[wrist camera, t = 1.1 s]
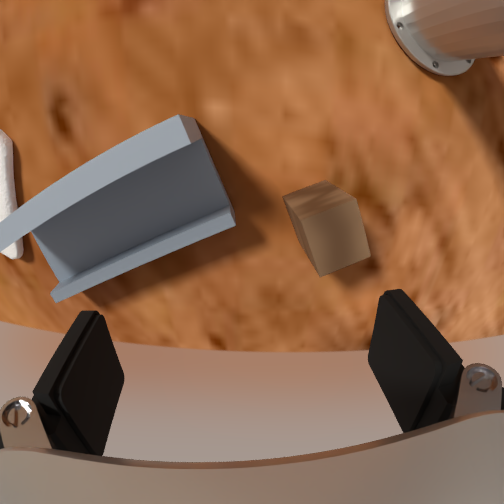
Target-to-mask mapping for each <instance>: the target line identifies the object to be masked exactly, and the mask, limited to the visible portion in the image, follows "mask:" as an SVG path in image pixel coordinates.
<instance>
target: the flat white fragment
mask: <svg viewBox="0 0 504 504" xmlns="http://www.w3.org/2000/svg"><path fill="white" fill-rule="evenodd" d="M12 144H13V142H12V140H11V139H10V138H9V137H8V135H7V134H5V133H4V132H3V131H2V130H1V129H0V222H1V221H2V220H4V219H5V218H6V217H8V216H9V215H10V214H11V213H13V212H14V211H15V210H17V209H18V206H17V201H16V192H15V183H14V170H13V145H12ZM23 250H24V248H23V239H22V237H21V238H20V239H18V240H17V241H15V242H14V243H12V244H11V245H10V246H8V247H7V248H5V249H4V250H3V251H1V253H2V254H4V255H6V256H7V257H9V258H11V259H17V258H20V257H21V256H22V255H23Z"/></svg>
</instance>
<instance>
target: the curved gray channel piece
mask: <svg viewBox="0 0 504 504" xmlns="http://www.w3.org/2000/svg"><path fill="white" fill-rule="evenodd" d="M234 226H236V222H235V212H234V209H233V207H232V204H231V202H230V200H229V197H228V195H227V193H226V190H225V188H224V186H223V184H222V181H221V179H220V177H219V174H218V172H217V170H216V167H215V165H214V163H213V160H212V158H211V156H210V153H209V151H208V149H207V146H206V144H205V142H204V139H203V137H202V135H201V132H200V130H199V128H198V126H197V123H196V121H195V119H194V118H191V117H187V116H183V115H179V114H178V115H176V116H174V117H172V118H169V119H167V120H165V121H163V122H161V123H159V124H157V125H155V126H153V127H151V128H149V129H147V130H145V131H143V132H141V133H139V134H137V135H135V136H133V137H131V138H129V139H127V140H126V141H124V142H122V143H120V144H118V145H116V146H115V147H113V148H111V149H109V150H107V151H106V152H104V153H102V154H100V155H99V156H97V157H95V158H94V159H92V160H90V161H89V162H87V163H85V164H84V165H82V166H80V167H79V168H77V169H75V170H74V171H72V172H71V173H69V174H67V175H66V176H64V177H63V178H61V179H60V180H58V181H57V182H55V183H54V184H52V185H51V186H49V187H48V188H46V189H45V190H43V191H42V192H40V193H39V194H38V195H36V196H35V197H33V198H32V199H30V200H29V201H28V202H26V203H25V204H24V205H22V206H21V207H19V208H18V209H17V210H15V211H14V212H13V213H11V214H10V215H9V216H8V217H6V218H5V219H4V220H2V221H1V222H0V252H1V251H3V250H4V249H5V248H7V247H8V246H10V245H11V244H12V243H14V242H15V241H17V240H18V239H20V238H21V237H23V236H24V235H26V234H27V233H28V232H30V231H31V232H32V234H33V236H34V238H35V239H36V241H37V243H38V245H39V247H40V249H41V251H42V252H43V254H44V256H45V258H46V260H47V261H48V263H49V265H50V267H51V268H52V270H53V272H54V273H55V275H56V277H57V278H58V280H59V284H58V285H57V286H56V287H55V288H54V289H53V290H52V292H51V293H50V294H51V296H52V298H53V299H54V301H55V302H56V303H57V302H60V301H62V300H64V299H66V298H68V297H71V296H73V295H75V294H77V293H79V292H82V291H84V290H86V289H88V288H90V287H93V286H95V285H97V284H99V283H102V282H104V281H106V280H108V279H111V278H113V277H115V276H118V275H120V274H122V273H124V272H127V271H129V270H131V269H134V268H136V267H138V266H140V265H143V264H145V263H147V262H150V261H152V260H154V259H157V258H159V257H161V256H164V255H166V254H168V253H171V252H173V251H176V250H178V249H180V248H183V247H185V246H187V245H190V244H192V243H195V242H197V241H199V240H202V239H204V238H207V237H209V236H212V235H214V234H216V233H219V232H221V231H224V230H226V229H229V228H231V227H234Z"/></svg>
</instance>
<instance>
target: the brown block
mask: <svg viewBox="0 0 504 504" xmlns="http://www.w3.org/2000/svg"><path fill="white" fill-rule="evenodd" d="M282 197H283V200H284V202H285V205H286V208H287V210H288V213H289V216H290V218H291V221H292V224H293V227H294V229H295V232H296V235H297V238H298V240H299V243H300V244H301V246H302V248H303V249H304V251H305V253H306V254H307V256H308V258H309V259H310V261H311V263H312V264H313V266H314V268H315V270H316V271H317V273H318V275H319V276H320V277H322V276H325V275H327V274H330V273H332V272H334V271H337V270H339V269H342V268H344V267H347V266H349V265H351V264H354V263H356V262H358V261H361V260H363V259H366V258H368V257H370V256H371V254H370V250H369V246H368V242H367V238H366V234H365V230H364V226H363V222H362V218H361V214H360V211H359V207H358V203H357V200H356V198H354V197H352V196H351V195H349V194H348V193H346V192H344V191H343V190H341V189H339V188H338V187H336V186H334V185H333V184H331V183H329V182H328V181H326V180H324V181H321V182H319V183H316V184H313V185H311V186H308V187H305V188H303V189H300V190H298V191H295V192H292V193H290V194H287V195H285V196H282Z"/></svg>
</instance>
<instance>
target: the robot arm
mask: <svg viewBox="0 0 504 504" xmlns="http://www.w3.org/2000/svg"><path fill="white" fill-rule="evenodd" d="M385 13H386V17H387V21H388V24H389V27H390V29H391V32H392V33H393V35H394V37H395V39H396V41H397V42H398V43H399V45H400V46H401V48H402V49H403V50H404V51H405V53H406V54H407V55H408V56H409V57H410V58H411V59H412V60H413V61H415V62H416V63H417V64H418V65H419V66H421V67H423V68H424V69H426V70H427V71H430V72H432V73H434V74H437V75H442V76H453V75H459V74H462V73H464V72H466V71H467V70H468V69H469V68H470V67H471V66H472V64H473V62H474V61H475V59H477V58H486V57H495V56H504V0H385ZM462 361H463V360H462V359H461V358H460V356H459V355H458V354H457V353H456V351H455V350H454V349H453V348H452V346H451V345H450V344H449V343H448V342H447V340H446V339H445V338H444V337H443V336H442V335H441V333H440V332H439V331H438V330H437V329H436V327H435V326H434V325H433V324H432V323H431V322H430V320H429V319H428V318H427V317H426V316H425V315H424V314H423V312H422V311H421V310H420V309H419V308H418V307H417V306H416V305H415V303H414V302H413V301H412V300H411V299H410V298H409V297H408V296H407V294H406V293H405V292H404V291H403V290H402V289H396V290H388V291H385V292H384V294H383V295H381V296H380V298H379V302H378V308H377V314H376V319H375V324H374V330H373V335H372V339H371V344H370V349H369V354H368V362H369V365H370V367H371V369H372V371H373V373H374V375H375V377H376V379H377V381H378V383H379V385H380V387H381V389H382V391H383V393H384V394H385V396H386V398H387V400H388V402H389V405H390V407H391V409H392V410H393V413H394V415H395V417H396V419H397V421H398V423H399V425H400V427H401V429H402V431H403V432H404V433H403V434H399V435H395V436H391V437H388V438H384V439H381V440H376V441H372V442H368V443H364V444H360V445H355V446H350V447H345V448H340V449H335V450H330V451H324V452H318V453H312V454H305V455H298V456H291V457H283V458H273V459H262V460H250V461H234V462H162V461H144V460H133V459H123V458H113V457H105V456H102V455H103V453H104V449H105V445H106V442H107V438H108V434H109V431H110V427H111V424H112V420H113V417H114V413H115V409H116V407H117V403H118V400H119V397H120V393H121V390H122V387H123V384H124V373H123V370H122V367H121V365H120V362H119V360H118V356H117V354H116V351H115V348H114V345H113V342H112V339H111V336H110V333H109V330H108V327H107V324H106V321H105V318H104V316H103V315H100V314H99V312H98V311H81V312H80V313H79V315H78V316H77V318H76V319H75V321H74V323H73V324H72V326H71V327H70V329H69V330H68V332H67V334H66V335H65V337H64V338H63V340H62V342H61V344H60V345H59V347H58V348H57V350H56V352H55V354H54V355H53V357H52V358H51V360H50V362H49V363H48V365H47V367H46V369H45V370H44V372H43V374H42V376H41V377H40V379H39V381H38V383H37V385H36V386H35V388H34V390H33V394H34V396H33V398H32V400H31V399H29V398H26V397H16V398H13V399H11V400H9V401H7V402H6V403H5V404H4V405H3V406H2V408H1V410H0V504H504V388H503V387H502V381H501V377H500V376H499V374H498V373H497V372H496V370H494V369H493V368H491V367H490V366H488V365H485V364H480V363H475V364H471V365H469V366H467V367H466V368H464V366H463V365H462Z"/></svg>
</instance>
